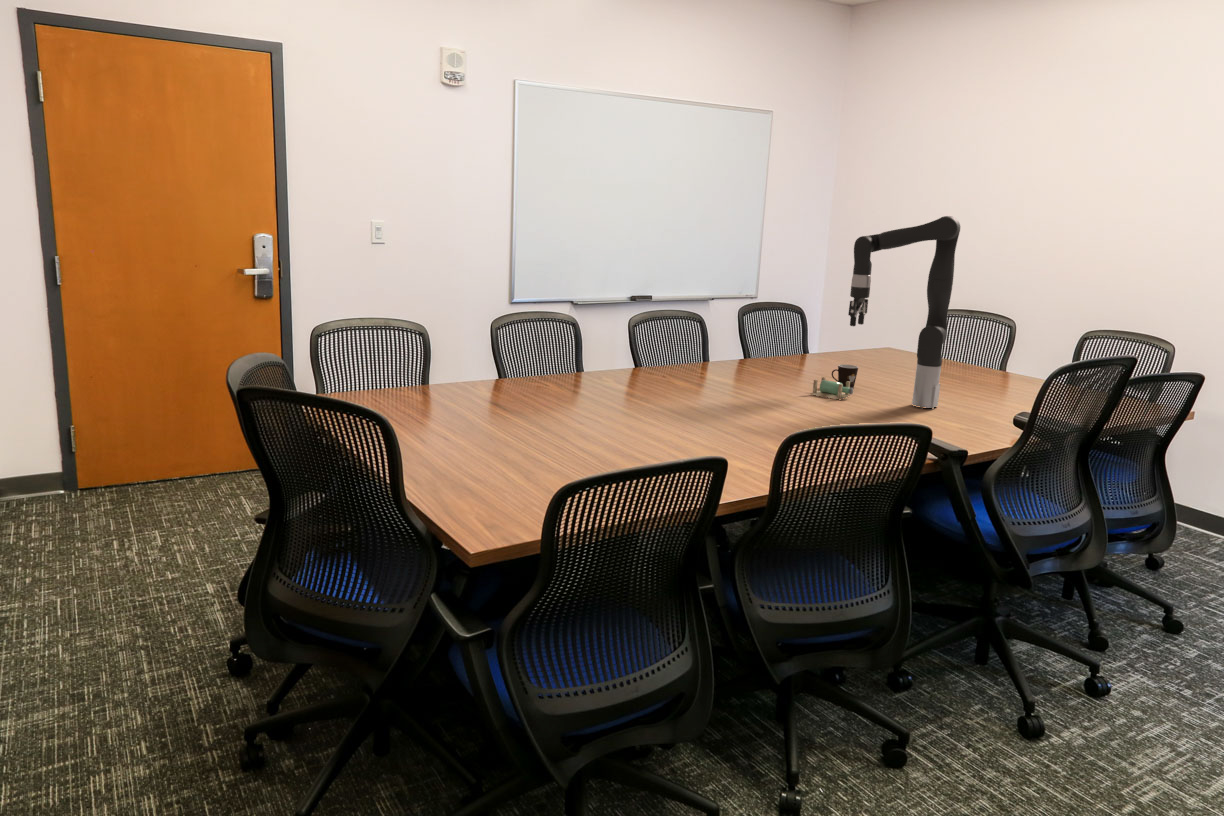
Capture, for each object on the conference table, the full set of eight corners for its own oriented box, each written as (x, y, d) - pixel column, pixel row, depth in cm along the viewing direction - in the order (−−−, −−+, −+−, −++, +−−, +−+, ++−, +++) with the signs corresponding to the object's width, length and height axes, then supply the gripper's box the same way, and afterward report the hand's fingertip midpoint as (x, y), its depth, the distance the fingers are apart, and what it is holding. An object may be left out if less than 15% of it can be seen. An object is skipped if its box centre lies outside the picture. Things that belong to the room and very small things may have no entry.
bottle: (853, 395, 362) (854, 383, 360) (849, 398, 358) (849, 386, 356) (824, 390, 369) (825, 378, 367) (819, 393, 365) (820, 381, 364)
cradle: (849, 396, 365) (851, 381, 363) (840, 400, 357) (842, 384, 356) (820, 391, 372) (822, 376, 371) (811, 395, 365) (812, 379, 363)
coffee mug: (854, 387, 384) (856, 365, 382) (857, 391, 376) (860, 368, 374) (827, 385, 385) (829, 363, 383) (830, 389, 377) (832, 367, 375)
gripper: (863, 287, 348) (858, 327, 352) (876, 285, 359) (871, 324, 363) (845, 285, 352) (841, 325, 356) (858, 284, 364) (854, 322, 367)
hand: (856, 325), depth 360 cm, fingers open, 8 cm apart
